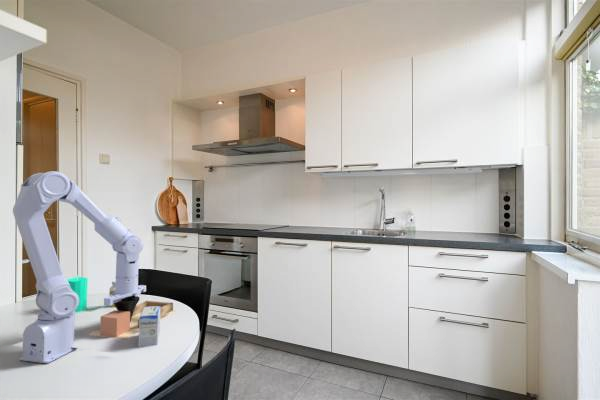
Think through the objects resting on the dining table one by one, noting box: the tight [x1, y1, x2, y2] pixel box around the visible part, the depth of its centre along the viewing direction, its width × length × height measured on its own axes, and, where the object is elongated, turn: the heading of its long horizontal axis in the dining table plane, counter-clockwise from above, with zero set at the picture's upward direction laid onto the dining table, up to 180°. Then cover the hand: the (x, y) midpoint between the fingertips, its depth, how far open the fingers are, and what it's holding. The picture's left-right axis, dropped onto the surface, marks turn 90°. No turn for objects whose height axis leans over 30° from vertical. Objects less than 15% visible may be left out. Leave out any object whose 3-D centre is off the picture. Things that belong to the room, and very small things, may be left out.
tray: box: [87, 300, 175, 340], centre depth 94 cm, size 23×12×4 cm, turn 170°
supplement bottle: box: [108, 279, 116, 308], centre depth 109 cm, size 5×5×10 cm
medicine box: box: [138, 306, 161, 348], centre depth 82 cm, size 8×4×9 cm, turn 21°
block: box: [99, 309, 130, 337], centre depth 86 cm, size 5×5×5 cm
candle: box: [66, 274, 88, 313], centre depth 107 cm, size 6×6×12 cm
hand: (125, 323), depth 90 cm, fingers closed
